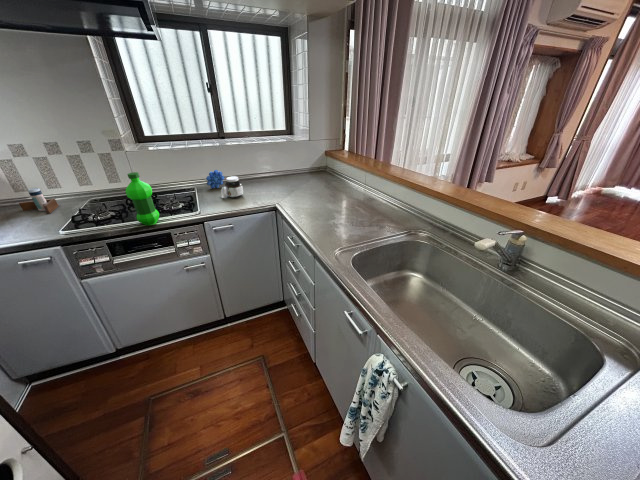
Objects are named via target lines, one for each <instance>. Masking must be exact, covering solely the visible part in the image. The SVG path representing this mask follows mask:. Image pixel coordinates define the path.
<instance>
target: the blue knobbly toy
mask: <svg viewBox="0 0 640 480" xmlns="http://www.w3.org/2000/svg"><path fill="white" fill-rule="evenodd" d="M205 179H206V185H207V186H210V189H215V188H216V189H219V188H220V186H222V185H223V184H224V180H225V175H223V172H222V171H219V170H218V169H214V170H213V171H209V173H208V175H207V176H206V178H205Z"/></svg>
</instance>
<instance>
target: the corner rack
mask: <svg viewBox="0 0 640 480" xmlns="http://www.w3.org/2000/svg"><path fill="white" fill-rule="evenodd" d="M45 199H46V201H47V204H45V205H44V206H43V207H44V208H45V210H46V211H45V212H46V213H47V215H49V214H50V215H51V213H53V212H54V211H55V210H56V209H57V208H59V204H58V202H57V200H56V199H55V198H45ZM18 204H19V206H20V208H21V209H22V211H25V212H26V211H32V210H38V208H37V206H36V205H35V203H34V201H33V200H29V201H20V202H18Z"/></svg>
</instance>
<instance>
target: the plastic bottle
mask: <svg viewBox="0 0 640 480" xmlns="http://www.w3.org/2000/svg"><path fill="white" fill-rule="evenodd" d="M139 173H140V172H137V171H136V172H135V171H133V172H129V173H127V178H128V179H129V180H130V182H129V183H128V185H127V186H126V188H125V195H126V197H127V198H128V199H130V200H131V201H132V204H133V207H134V208H135V212H136V216H135V217H136V221H137V222H138V223H140V224H142V225H144V226H152V225H155V224H157V222H158V221H159V220H160V212H159V211H158V209H156V207H155V204H154V201H153V198H152V195H153V188H152V186H151V185H150V184H149V183H147V182H144V181H143V180H140V174H139Z"/></svg>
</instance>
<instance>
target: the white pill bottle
mask: <svg viewBox="0 0 640 480" xmlns="http://www.w3.org/2000/svg"><path fill="white" fill-rule="evenodd" d="M27 193H28V194H29V196H30V197H31V199H32V201H34V203H35V205H36V206H37V208H38V209H37V210H38V211H39V212H46V210H45V208H44V207H43V206H44V205H45V204H47V201H46V199H47V198H45V196H44V194H43V192H42V190H41V189H40V188H39V187H32V188H29V189H28V191H27Z"/></svg>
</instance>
